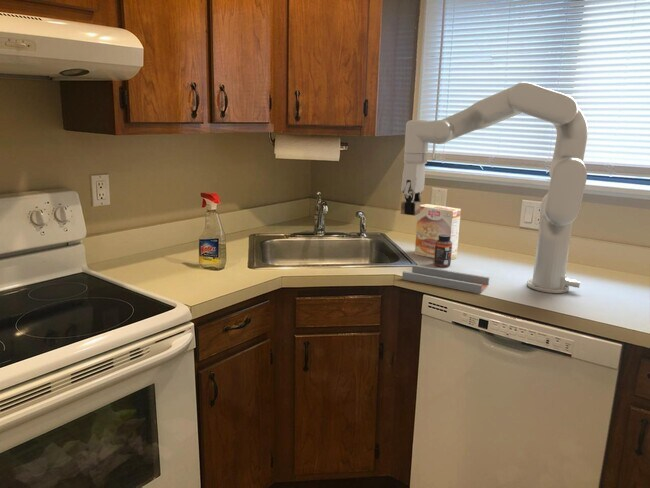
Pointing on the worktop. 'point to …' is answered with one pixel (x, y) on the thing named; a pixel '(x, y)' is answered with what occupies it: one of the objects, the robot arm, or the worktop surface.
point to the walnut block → (416, 208)
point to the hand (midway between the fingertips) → (412, 212)
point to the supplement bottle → (443, 251)
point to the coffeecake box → (436, 228)
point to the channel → (447, 278)
